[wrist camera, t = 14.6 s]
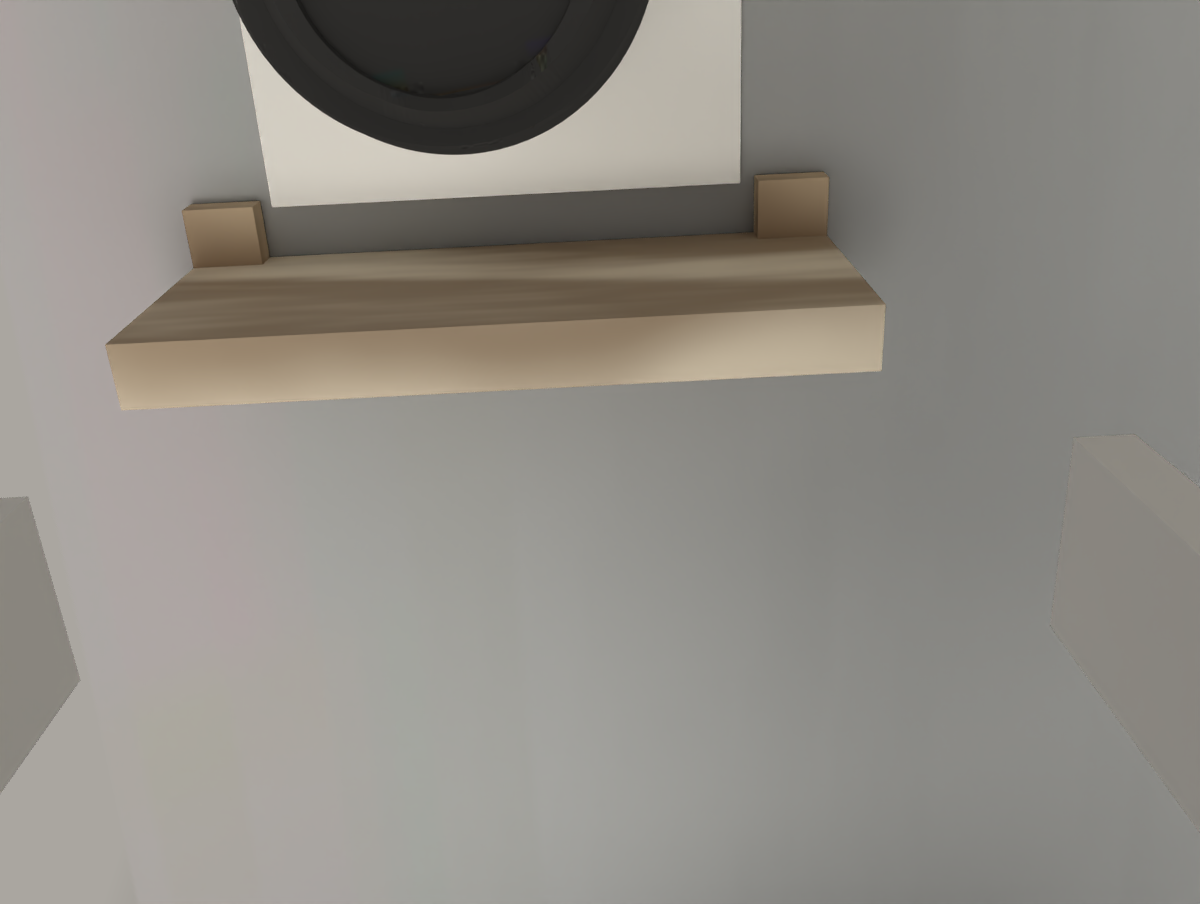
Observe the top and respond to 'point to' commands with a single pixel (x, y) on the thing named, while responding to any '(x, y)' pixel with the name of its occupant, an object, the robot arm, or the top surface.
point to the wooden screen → (500, 312)
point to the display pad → (550, 160)
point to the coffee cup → (445, 63)
